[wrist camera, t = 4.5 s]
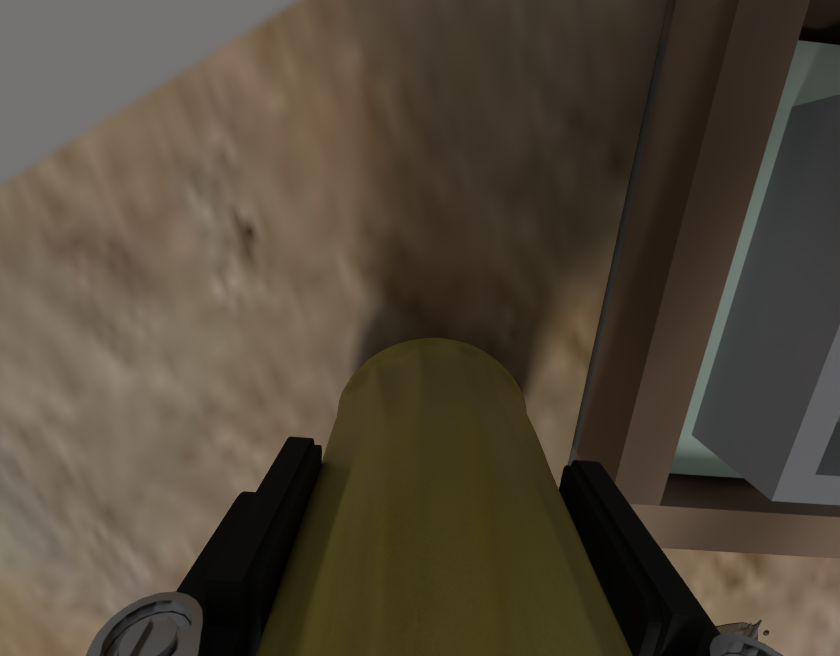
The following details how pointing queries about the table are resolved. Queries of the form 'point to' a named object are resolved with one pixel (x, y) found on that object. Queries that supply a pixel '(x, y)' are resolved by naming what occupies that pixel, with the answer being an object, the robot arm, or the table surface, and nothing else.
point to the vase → (437, 525)
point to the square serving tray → (780, 311)
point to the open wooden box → (694, 273)
